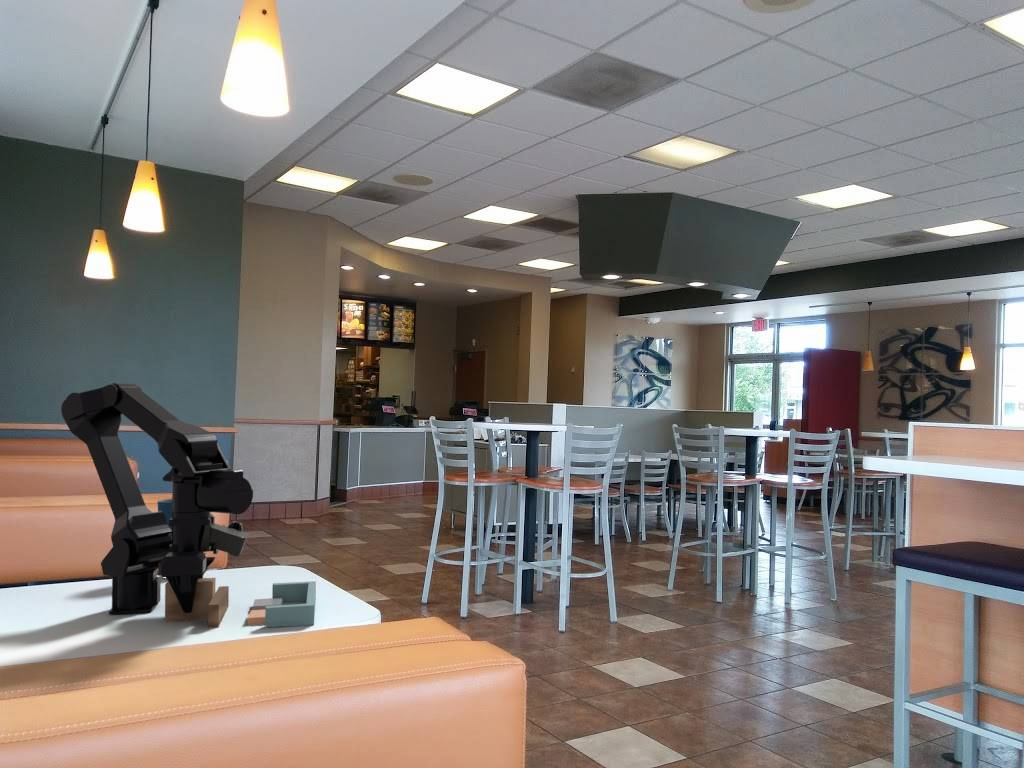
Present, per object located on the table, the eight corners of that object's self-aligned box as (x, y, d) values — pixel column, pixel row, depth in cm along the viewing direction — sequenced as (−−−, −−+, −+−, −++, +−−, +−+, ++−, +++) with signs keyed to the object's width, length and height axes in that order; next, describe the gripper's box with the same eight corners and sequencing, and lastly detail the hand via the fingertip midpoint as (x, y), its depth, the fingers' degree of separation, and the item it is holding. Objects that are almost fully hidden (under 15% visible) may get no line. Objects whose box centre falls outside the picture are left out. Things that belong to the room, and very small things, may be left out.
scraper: (158, 631, 116) (159, 591, 116) (174, 610, 127) (174, 573, 128) (218, 627, 118) (218, 588, 118) (228, 607, 129) (228, 571, 130)
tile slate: (252, 615, 126) (252, 606, 126) (254, 608, 130) (254, 599, 130) (281, 613, 127) (281, 604, 127) (282, 606, 131) (282, 597, 131)
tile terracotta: (247, 627, 119) (247, 618, 119) (251, 619, 123) (251, 610, 123) (277, 625, 120) (277, 616, 120) (280, 617, 124) (280, 608, 124)
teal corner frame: (265, 627, 117) (265, 608, 117) (272, 600, 133) (273, 583, 133) (313, 624, 119) (314, 605, 119) (315, 598, 135) (315, 581, 135)
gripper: (238, 517, 116) (237, 621, 115) (250, 501, 134) (249, 591, 133) (158, 519, 113) (156, 626, 113) (181, 503, 131) (180, 595, 131)
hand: (190, 608), depth 122 cm, fingers open, 4 cm apart
